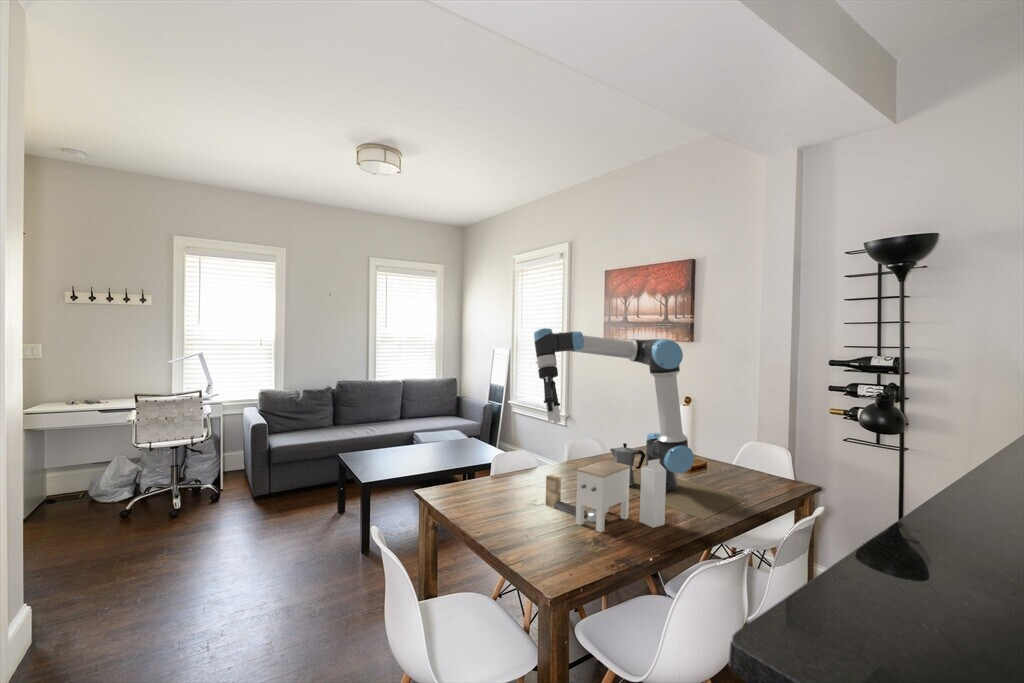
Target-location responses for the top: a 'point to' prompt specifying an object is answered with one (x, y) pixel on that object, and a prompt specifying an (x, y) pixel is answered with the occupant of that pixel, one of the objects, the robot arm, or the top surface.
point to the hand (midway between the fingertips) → (554, 421)
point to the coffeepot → (628, 458)
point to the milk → (653, 494)
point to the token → (591, 516)
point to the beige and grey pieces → (557, 495)
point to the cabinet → (602, 490)
